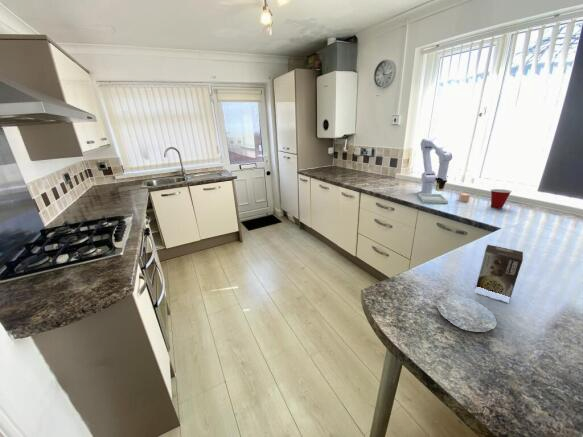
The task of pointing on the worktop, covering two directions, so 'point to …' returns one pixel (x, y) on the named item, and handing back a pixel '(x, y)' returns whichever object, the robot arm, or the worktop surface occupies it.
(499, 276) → the coffee box
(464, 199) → the terracotta block
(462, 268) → the worktop surface
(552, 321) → the worktop surface
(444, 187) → the oak block
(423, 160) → the robot arm
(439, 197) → the grey tray
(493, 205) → the plastic cup
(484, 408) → the worktop surface
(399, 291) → the worktop surface
